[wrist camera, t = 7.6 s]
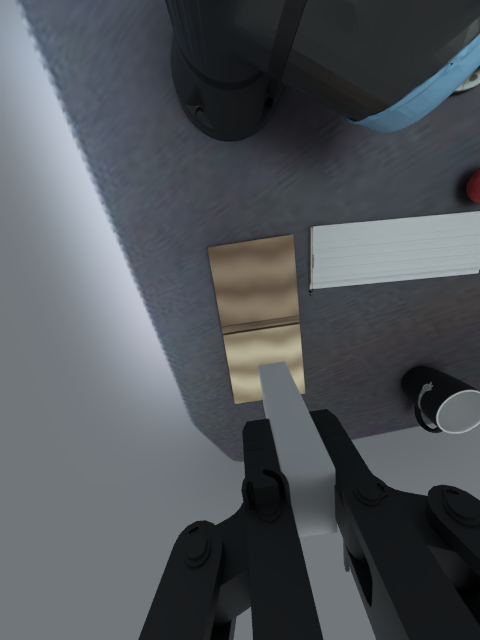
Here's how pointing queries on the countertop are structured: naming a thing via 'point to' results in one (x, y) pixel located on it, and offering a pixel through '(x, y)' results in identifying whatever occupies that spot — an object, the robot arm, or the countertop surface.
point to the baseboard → (394, 250)
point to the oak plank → (262, 357)
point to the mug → (443, 400)
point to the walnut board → (255, 283)
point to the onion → (474, 187)
